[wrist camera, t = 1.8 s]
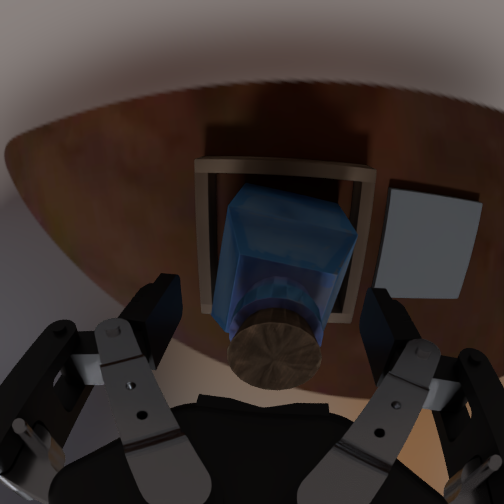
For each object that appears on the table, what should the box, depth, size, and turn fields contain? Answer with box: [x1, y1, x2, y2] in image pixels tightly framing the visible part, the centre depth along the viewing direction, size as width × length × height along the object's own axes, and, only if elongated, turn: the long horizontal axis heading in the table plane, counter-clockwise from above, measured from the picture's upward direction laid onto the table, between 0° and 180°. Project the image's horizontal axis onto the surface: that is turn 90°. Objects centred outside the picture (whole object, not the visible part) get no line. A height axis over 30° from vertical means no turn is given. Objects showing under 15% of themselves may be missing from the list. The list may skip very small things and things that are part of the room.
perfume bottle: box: [211, 183, 358, 390], centre depth 15 cm, size 6×6×12 cm
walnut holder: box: [194, 156, 376, 323], centre depth 19 cm, size 11×11×3 cm
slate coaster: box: [372, 187, 482, 298], centre depth 19 cm, size 8×8×1 cm
